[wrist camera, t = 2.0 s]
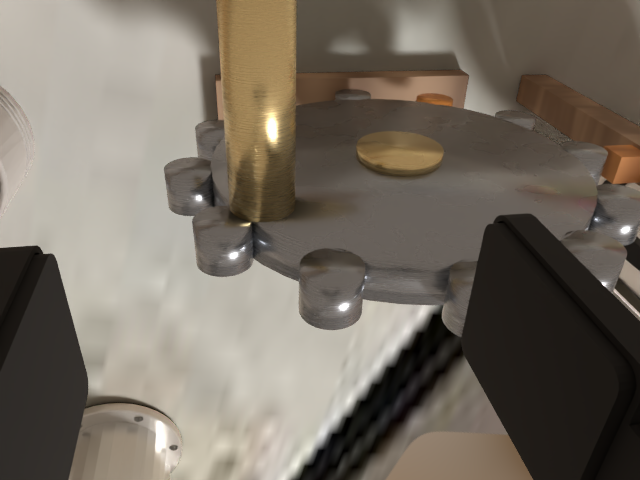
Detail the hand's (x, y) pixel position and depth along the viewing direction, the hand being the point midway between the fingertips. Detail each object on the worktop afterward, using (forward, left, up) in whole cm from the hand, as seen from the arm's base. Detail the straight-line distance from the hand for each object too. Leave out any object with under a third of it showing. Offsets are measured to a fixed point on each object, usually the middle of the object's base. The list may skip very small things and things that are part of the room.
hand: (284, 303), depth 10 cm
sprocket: (-6, -6, -29) cm, 31 cm away
